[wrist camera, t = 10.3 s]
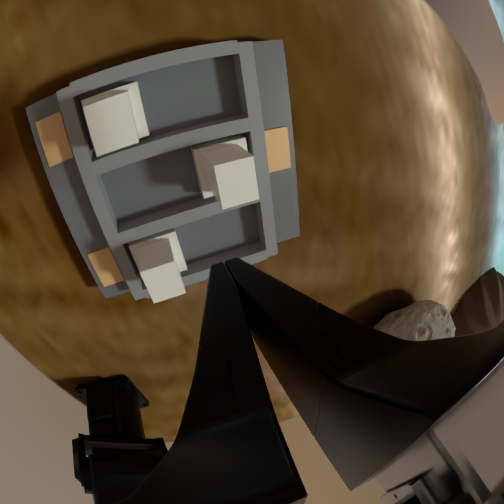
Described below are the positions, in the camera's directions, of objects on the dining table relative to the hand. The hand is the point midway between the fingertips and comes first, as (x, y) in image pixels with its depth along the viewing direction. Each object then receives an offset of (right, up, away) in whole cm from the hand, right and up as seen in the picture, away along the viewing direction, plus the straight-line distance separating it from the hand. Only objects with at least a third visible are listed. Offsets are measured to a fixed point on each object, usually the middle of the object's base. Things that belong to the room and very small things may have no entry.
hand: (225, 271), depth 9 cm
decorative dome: (+50, -11, +45) cm, 68 cm away
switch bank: (-4, +6, +9) cm, 11 cm away
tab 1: (-6, +8, +4) cm, 11 cm away
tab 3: (-1, +6, +8) cm, 10 cm away
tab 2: (-5, +1, +10) cm, 11 cm away
